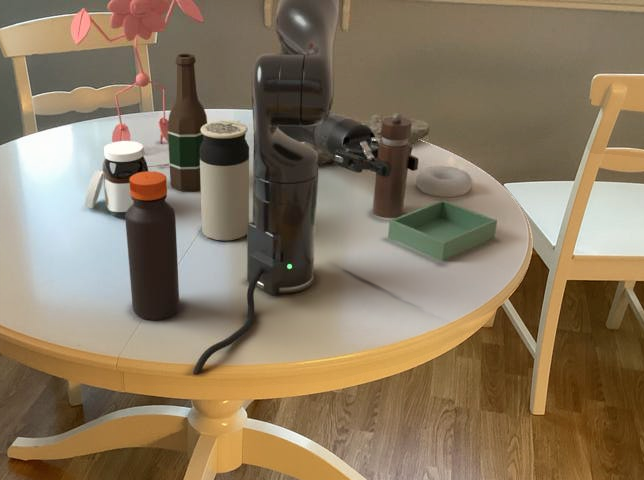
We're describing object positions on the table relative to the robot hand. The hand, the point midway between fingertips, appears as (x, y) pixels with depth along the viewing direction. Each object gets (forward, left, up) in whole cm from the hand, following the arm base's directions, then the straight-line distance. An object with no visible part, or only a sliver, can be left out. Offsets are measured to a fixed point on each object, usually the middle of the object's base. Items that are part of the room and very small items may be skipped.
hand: (402, 168), depth 141 cm
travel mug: (-26, +15, -10) cm, 31 cm away
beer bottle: (-18, +36, -10) cm, 42 cm away
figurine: (-15, +54, -10) cm, 57 cm away
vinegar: (-50, +1, -10) cm, 51 cm away
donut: (+16, +3, -10) cm, 19 cm away
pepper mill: (0, +3, -9) cm, 10 cm away
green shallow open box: (-1, -10, -9) cm, 14 cm away
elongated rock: (+20, +29, -10) cm, 36 cm away
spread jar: (-35, +35, -10) cm, 50 cm away
